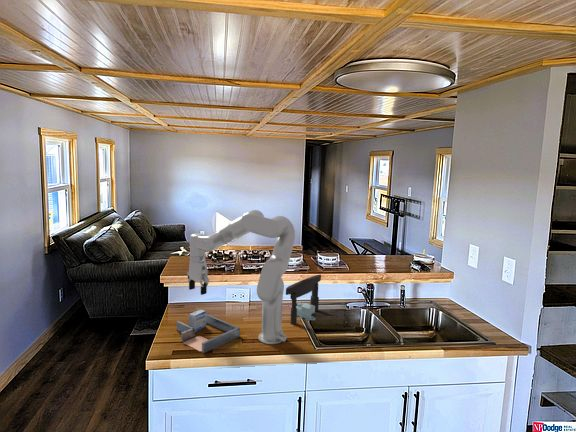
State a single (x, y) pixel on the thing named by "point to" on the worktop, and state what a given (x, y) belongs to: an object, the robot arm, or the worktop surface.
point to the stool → (300, 290)
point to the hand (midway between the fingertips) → (197, 291)
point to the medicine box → (197, 319)
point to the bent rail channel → (208, 345)
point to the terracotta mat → (196, 343)
